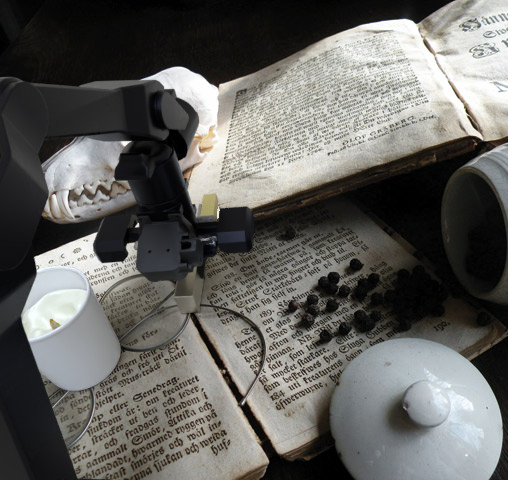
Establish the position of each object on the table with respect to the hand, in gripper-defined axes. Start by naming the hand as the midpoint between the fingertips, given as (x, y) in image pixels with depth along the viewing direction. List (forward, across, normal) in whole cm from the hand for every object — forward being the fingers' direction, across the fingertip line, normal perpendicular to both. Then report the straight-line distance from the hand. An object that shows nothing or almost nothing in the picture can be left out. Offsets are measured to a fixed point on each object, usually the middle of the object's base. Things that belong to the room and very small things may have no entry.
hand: (193, 277), depth 64 cm
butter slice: (+2, +1, +10) cm, 11 cm away
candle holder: (+2, -12, -11) cm, 16 cm away
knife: (+1, 0, +4) cm, 4 cm away
